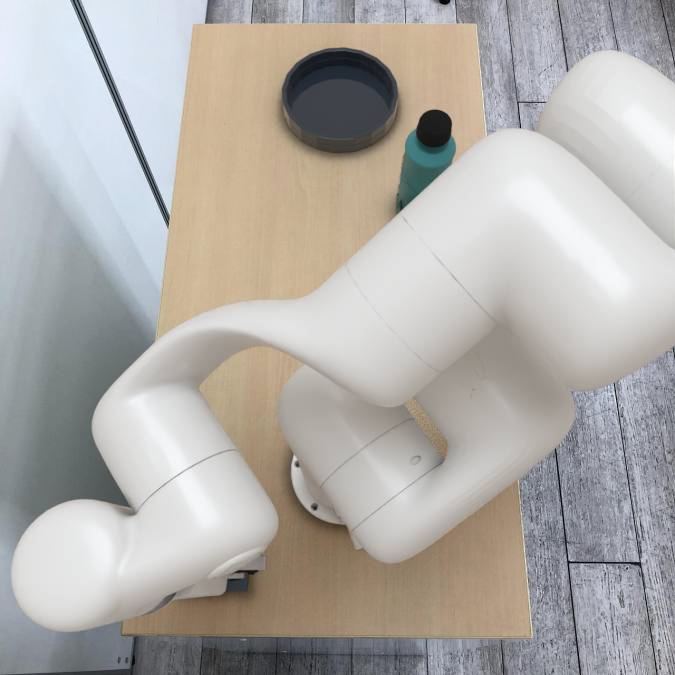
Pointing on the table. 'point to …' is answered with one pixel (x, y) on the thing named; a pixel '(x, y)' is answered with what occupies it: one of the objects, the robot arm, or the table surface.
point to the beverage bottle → (425, 155)
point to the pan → (339, 99)
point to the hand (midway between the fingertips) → (192, 563)
